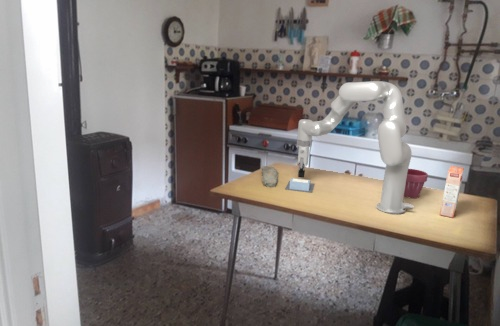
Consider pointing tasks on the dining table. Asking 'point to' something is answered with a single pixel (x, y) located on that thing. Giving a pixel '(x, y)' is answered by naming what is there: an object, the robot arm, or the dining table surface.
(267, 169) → the elongated rough stone
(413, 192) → the plant pot
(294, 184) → the pale blue upright box
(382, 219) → the dining table surface
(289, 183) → the mat
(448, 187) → the cracker box
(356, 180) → the dining table surface
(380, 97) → the robot arm
